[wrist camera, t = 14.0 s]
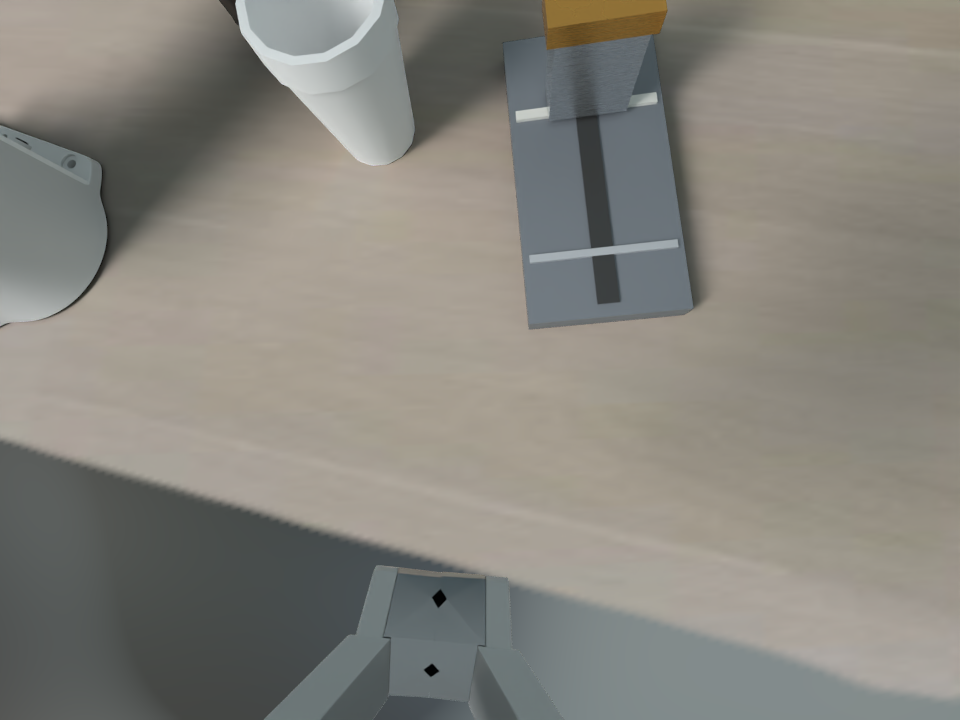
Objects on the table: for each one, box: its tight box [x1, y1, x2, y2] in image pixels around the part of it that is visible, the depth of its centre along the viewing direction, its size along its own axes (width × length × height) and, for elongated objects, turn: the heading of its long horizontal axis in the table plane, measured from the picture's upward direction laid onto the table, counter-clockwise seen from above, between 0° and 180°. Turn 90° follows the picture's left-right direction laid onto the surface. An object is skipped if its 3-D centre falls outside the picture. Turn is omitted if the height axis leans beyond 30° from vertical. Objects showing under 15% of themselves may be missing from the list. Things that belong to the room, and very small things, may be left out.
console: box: [503, 34, 693, 329], centre depth 36 cm, size 24×12×2 cm, turn 4°
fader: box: [542, 0, 667, 121], centre depth 31 cm, size 3×7×9 cm, turn 94°
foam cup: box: [235, 0, 415, 166], centre depth 33 cm, size 10×9×13 cm
